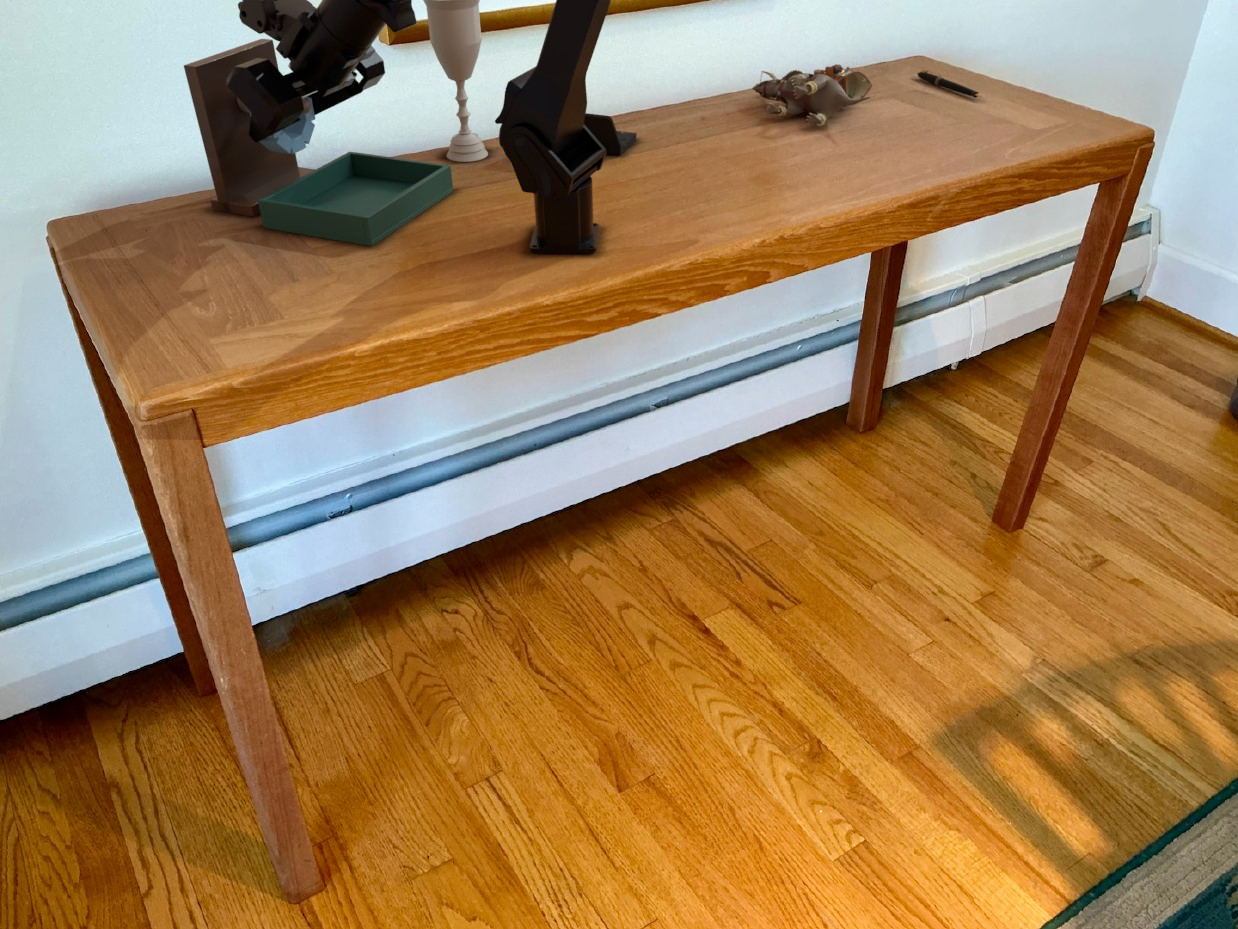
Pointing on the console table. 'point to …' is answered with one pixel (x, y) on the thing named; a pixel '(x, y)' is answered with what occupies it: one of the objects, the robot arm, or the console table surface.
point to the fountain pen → (946, 83)
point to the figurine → (815, 92)
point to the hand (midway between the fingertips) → (275, 128)
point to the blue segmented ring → (292, 135)
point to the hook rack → (237, 133)
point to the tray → (357, 198)
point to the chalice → (458, 63)
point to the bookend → (609, 133)
